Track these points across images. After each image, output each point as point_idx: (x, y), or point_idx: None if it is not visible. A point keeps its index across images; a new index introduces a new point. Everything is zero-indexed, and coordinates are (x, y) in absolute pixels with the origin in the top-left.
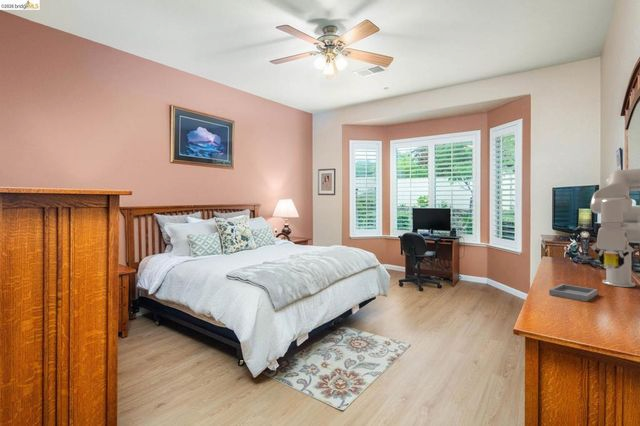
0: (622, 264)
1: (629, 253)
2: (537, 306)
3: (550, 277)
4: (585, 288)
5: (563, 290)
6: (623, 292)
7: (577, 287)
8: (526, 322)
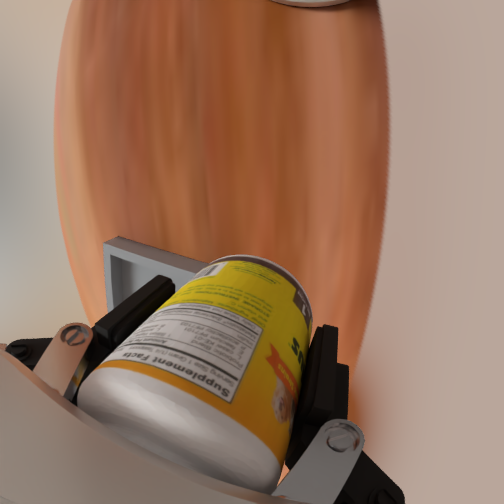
0: (337, 330)
1: (396, 501)
2: None
3: (73, 41)
4: (183, 279)
5: (130, 285)
6: (343, 131)
7: (155, 269)
8: None
